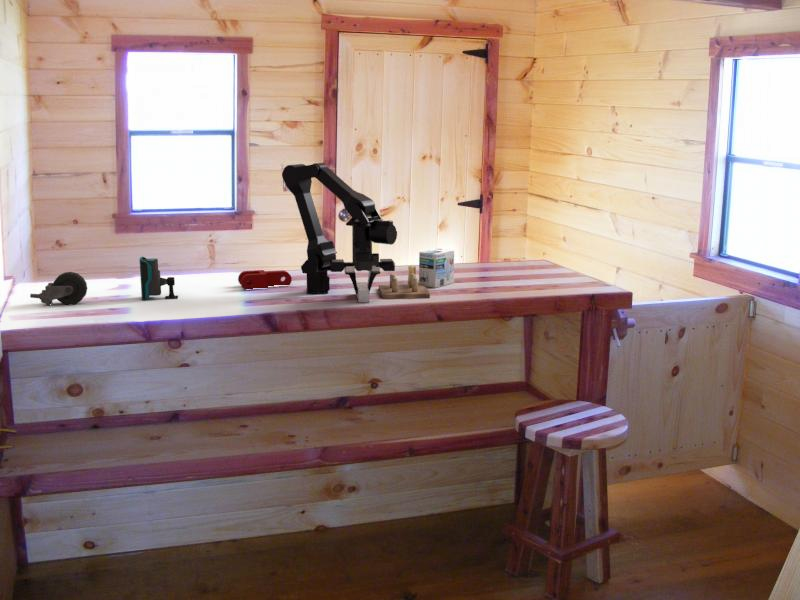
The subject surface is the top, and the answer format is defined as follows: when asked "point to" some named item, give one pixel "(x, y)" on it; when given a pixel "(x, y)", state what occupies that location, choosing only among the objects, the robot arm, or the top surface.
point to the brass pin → (411, 271)
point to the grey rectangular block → (362, 292)
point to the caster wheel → (64, 289)
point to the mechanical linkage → (263, 278)
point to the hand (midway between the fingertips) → (362, 294)
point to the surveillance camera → (153, 279)
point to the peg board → (403, 289)
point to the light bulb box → (436, 267)
